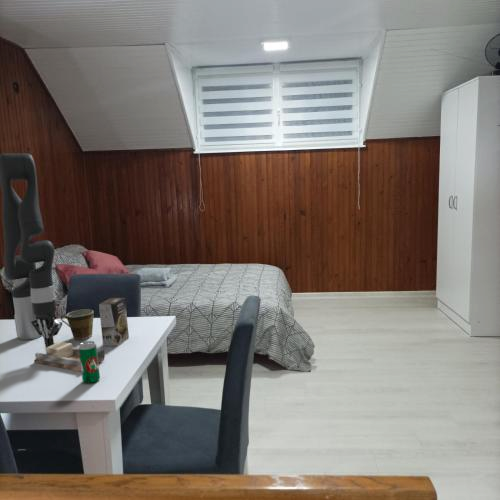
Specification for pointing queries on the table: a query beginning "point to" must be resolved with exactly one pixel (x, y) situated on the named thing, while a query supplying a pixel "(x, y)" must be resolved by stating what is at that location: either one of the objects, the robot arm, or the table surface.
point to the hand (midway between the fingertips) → (49, 347)
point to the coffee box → (113, 321)
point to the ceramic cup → (80, 323)
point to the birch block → (60, 349)
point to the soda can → (89, 362)
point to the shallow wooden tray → (65, 360)
